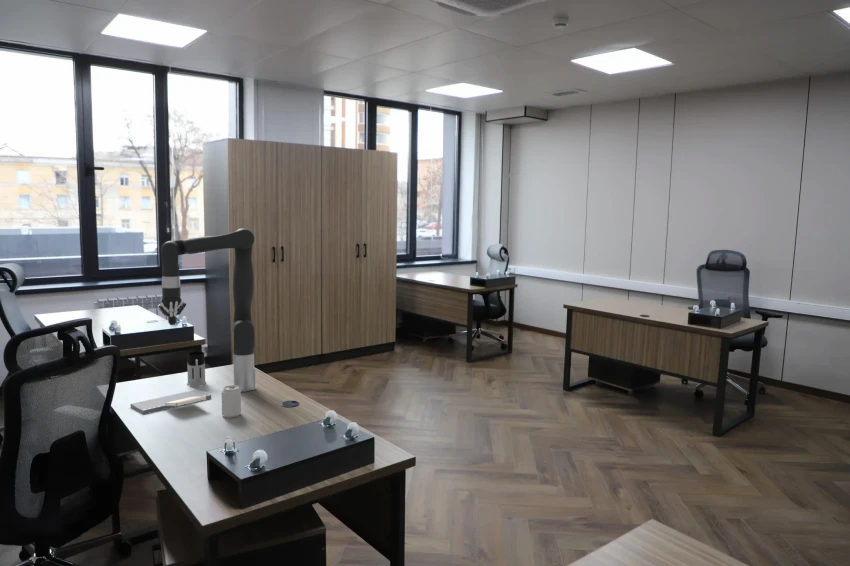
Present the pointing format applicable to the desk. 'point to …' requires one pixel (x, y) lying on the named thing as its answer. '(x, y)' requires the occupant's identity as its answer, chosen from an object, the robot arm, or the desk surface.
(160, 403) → the board
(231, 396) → the can
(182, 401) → the white square panel
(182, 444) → the desk surface
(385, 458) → the desk surface
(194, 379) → the glass holder
